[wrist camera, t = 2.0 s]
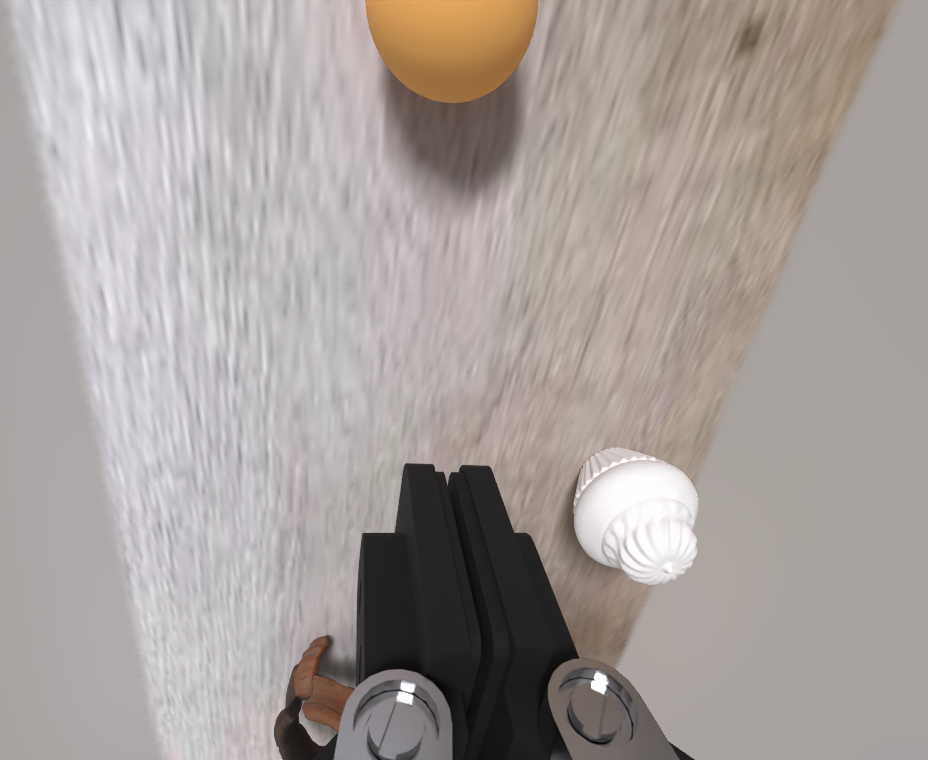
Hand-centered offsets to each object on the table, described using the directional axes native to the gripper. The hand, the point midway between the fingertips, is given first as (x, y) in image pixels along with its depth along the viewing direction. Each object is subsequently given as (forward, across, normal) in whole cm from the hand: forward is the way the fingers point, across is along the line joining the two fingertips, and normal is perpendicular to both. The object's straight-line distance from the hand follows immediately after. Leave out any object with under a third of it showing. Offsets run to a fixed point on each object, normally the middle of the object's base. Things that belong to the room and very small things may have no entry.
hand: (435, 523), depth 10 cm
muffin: (+13, -12, +8) cm, 20 cm away
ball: (+11, 0, -10) cm, 15 cm away
